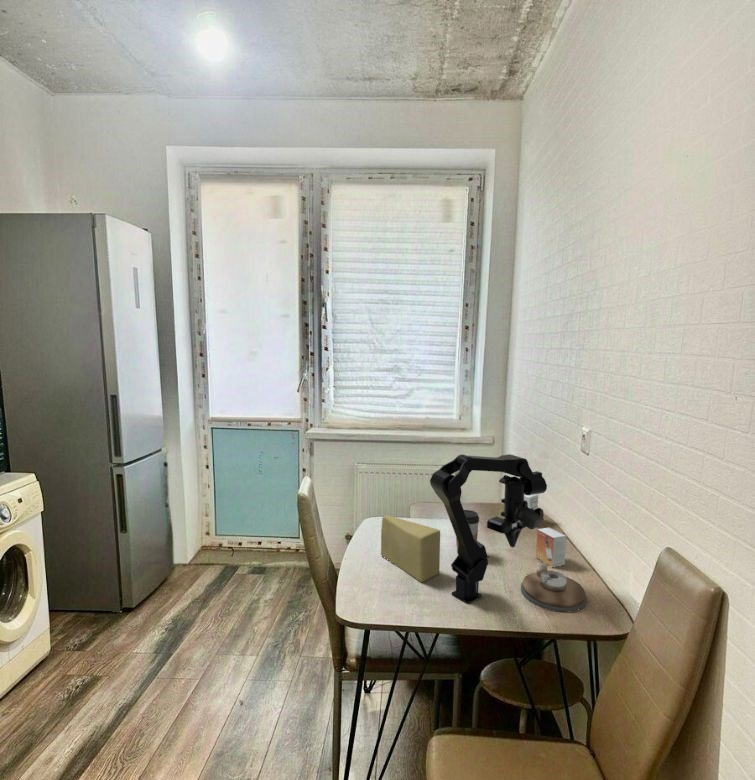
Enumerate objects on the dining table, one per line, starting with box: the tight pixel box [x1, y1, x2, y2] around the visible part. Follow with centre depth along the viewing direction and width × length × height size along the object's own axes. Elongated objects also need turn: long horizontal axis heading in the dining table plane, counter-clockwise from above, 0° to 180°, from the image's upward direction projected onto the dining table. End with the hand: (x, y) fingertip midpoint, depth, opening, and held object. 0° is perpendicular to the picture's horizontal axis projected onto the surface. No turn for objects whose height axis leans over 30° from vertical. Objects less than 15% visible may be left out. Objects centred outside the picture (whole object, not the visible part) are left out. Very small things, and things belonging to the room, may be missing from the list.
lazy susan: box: [522, 561, 586, 607], centre depth 131 cm, size 17×17×5 cm
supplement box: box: [524, 494, 539, 510], centre depth 188 cm, size 7×7×13 cm
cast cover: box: [541, 570, 567, 592], centre depth 131 cm, size 7×7×3 cm
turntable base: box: [520, 581, 587, 613], centre depth 132 cm, size 18×19×1 cm
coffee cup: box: [455, 509, 480, 554], centre depth 156 cm, size 8×8×15 cm
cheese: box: [380, 514, 441, 583], centre depth 147 cm, size 22×10×15 cm, turn 44°
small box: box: [535, 527, 567, 568], centre depth 152 cm, size 8×6×10 cm
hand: (512, 546), depth 136 cm, fingers closed
